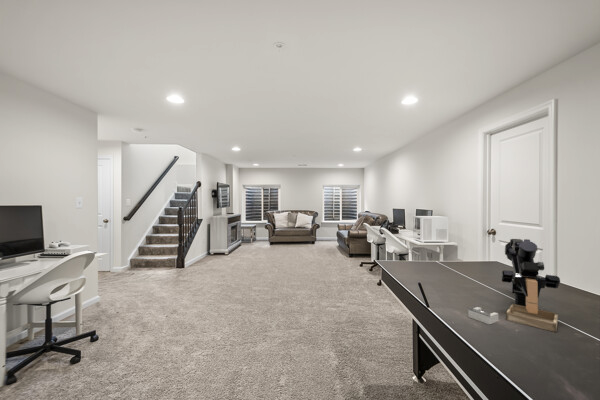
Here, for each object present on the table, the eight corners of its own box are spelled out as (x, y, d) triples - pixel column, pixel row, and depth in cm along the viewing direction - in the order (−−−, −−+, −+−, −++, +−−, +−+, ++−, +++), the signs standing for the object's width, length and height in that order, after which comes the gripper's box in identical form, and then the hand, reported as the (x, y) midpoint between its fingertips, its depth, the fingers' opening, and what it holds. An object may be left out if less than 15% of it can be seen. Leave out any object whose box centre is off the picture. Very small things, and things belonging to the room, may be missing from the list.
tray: (511, 311, 120) (511, 303, 120) (557, 321, 109) (557, 313, 109) (506, 320, 110) (505, 312, 110) (556, 333, 99) (556, 324, 99)
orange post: (525, 308, 112) (525, 278, 113) (535, 310, 111) (534, 279, 111) (528, 312, 109) (527, 280, 109) (537, 313, 107) (537, 281, 107)
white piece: (478, 314, 116) (478, 304, 116) (499, 321, 109) (499, 310, 109) (468, 317, 112) (468, 307, 112) (489, 325, 105) (489, 314, 105)
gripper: (501, 252, 118) (505, 282, 109) (558, 256, 109) (568, 290, 99) (499, 266, 125) (503, 296, 115) (552, 271, 115) (561, 305, 106)
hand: (532, 296), depth 109 cm, fingers closed on orange post, 3 cm apart
